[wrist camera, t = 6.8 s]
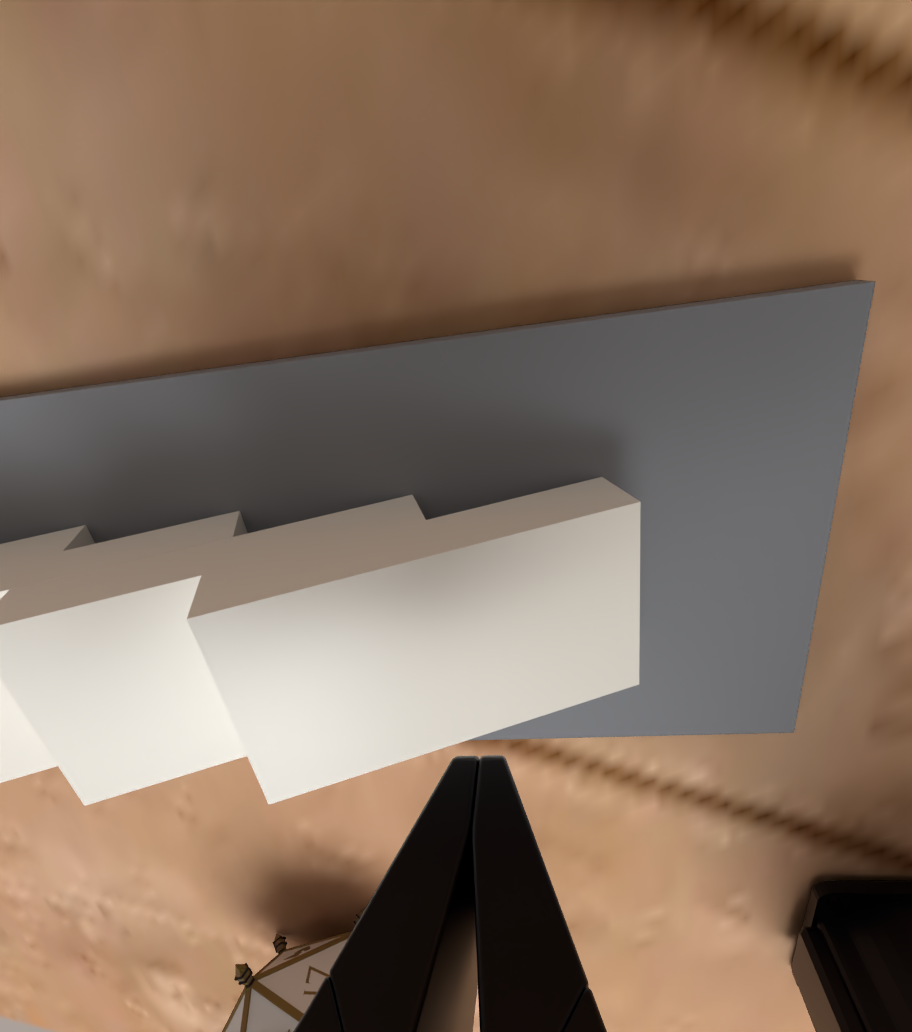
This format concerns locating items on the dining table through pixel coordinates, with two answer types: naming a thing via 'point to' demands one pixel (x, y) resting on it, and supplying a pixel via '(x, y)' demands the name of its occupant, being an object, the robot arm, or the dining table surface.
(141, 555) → the domino
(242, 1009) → the game die
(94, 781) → the domino
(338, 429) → the slate mat
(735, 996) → the dining table surface
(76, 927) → the dining table surface
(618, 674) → the domino
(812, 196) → the dining table surface
